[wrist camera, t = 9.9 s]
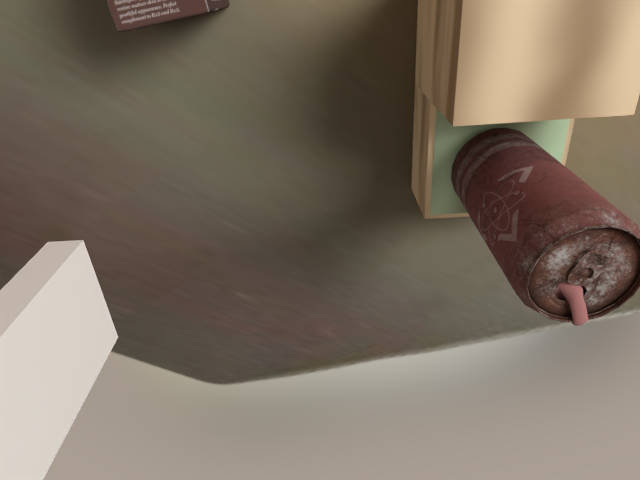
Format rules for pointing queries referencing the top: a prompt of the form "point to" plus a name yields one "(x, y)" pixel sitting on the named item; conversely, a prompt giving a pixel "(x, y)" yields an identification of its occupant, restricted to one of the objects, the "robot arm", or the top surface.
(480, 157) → the can
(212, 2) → the box
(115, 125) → the top surface
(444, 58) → the stand
